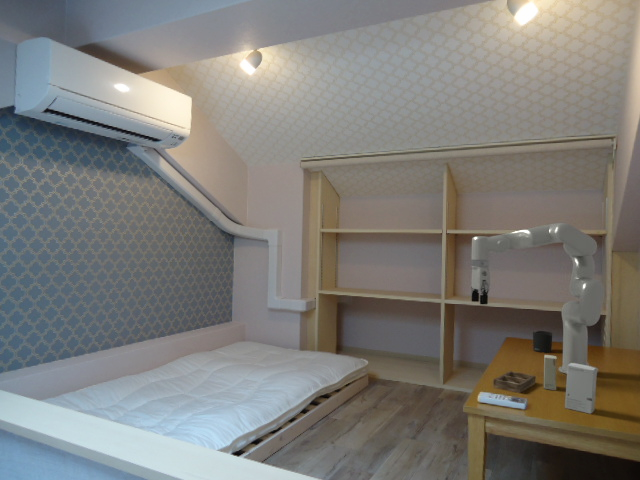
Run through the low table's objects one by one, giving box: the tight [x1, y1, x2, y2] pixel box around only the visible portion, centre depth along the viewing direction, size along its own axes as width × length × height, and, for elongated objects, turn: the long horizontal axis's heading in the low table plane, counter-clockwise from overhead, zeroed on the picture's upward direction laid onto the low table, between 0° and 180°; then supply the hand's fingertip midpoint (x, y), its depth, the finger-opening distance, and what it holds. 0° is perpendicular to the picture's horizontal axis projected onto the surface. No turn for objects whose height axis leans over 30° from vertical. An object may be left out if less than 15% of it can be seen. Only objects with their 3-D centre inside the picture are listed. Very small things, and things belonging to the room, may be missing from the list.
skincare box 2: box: [564, 363, 598, 415], centre depth 160 cm, size 8×6×15 cm
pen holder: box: [532, 330, 553, 354], centre depth 251 cm, size 9×9×10 cm
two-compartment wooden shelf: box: [493, 370, 536, 394], centre depth 186 cm, size 10×18×3 cm, turn 138°
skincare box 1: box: [543, 354, 558, 391], centre depth 184 cm, size 6×4×12 cm
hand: (479, 302), depth 207 cm, fingers open, 9 cm apart
